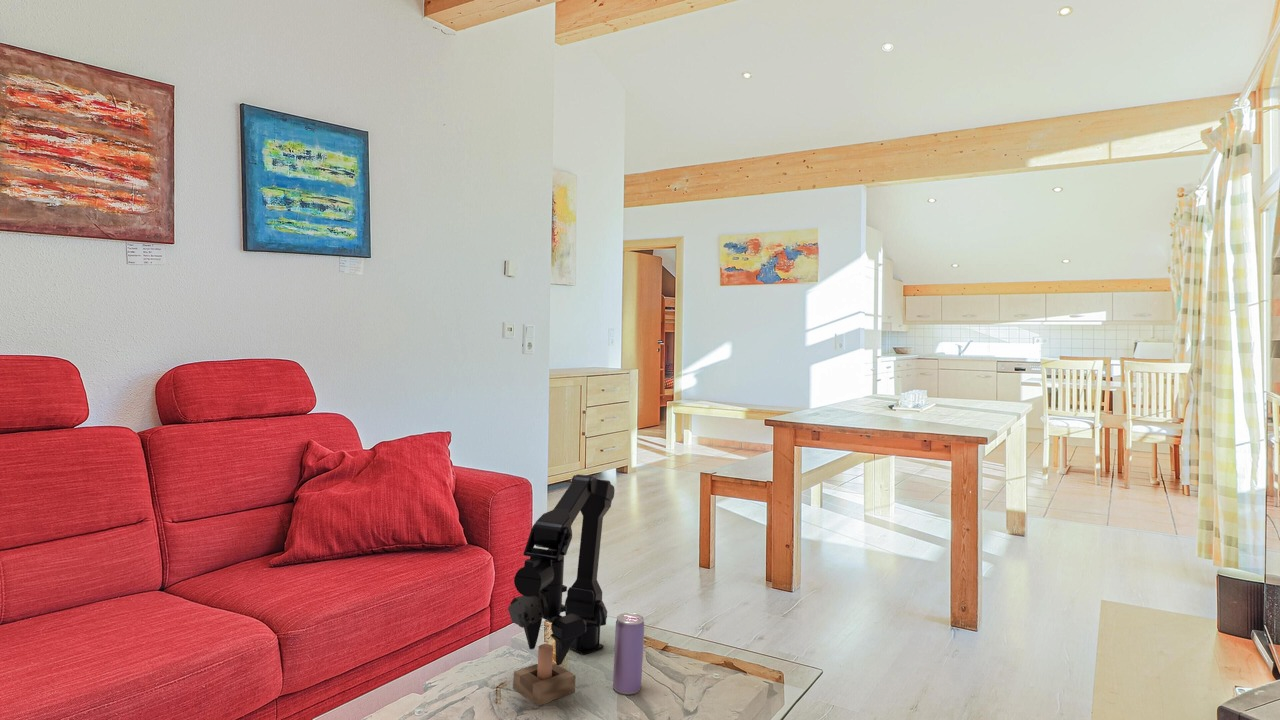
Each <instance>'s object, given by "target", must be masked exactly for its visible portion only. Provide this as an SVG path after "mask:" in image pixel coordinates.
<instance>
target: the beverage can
mask: <svg viewBox="0 0 1280 720" xmlns="http://www.w3.org/2000/svg"><path fill="white" fill-rule="evenodd" d="M644 619H645V618H644V616H643V615H641V614H639V613H636V612H635V613H634V612H623V613H621V614H618V615H617V616H616V621H615V631H614V632H615V635H614V651H613V652H614V653H613V654H614V655H613V674H612V687H613V689H614V691H615V692H617V693H619V694H621V695H625V696H627V695H629V696H630V695H634V694H637V693H638V692H639V691H640V689H642V678H643V660H644V641H645V639H644V638H645V620H644Z"/></svg>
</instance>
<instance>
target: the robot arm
mask: <svg viewBox="0 0 1280 720" xmlns="http://www.w3.org/2000/svg"><path fill="white" fill-rule="evenodd" d="M614 496H615V486H614V485H613V484H612V483H611V481H610V480H607V479H598V478H597V477H594V476H593V475H587V474H574V475H573V476H572V477H571V481H570V484H569V486H568V488H567V489H566V491H565V492H564V493H563V494H562V496H561V498H560V499H559V501H558V502H557V504H556V505H555V507H554V508H553V509H552V510H550V511H547V512H544V513H543V514H541V515H540V517H538V519H537V520H536V521H535V523H534V524H533V525H532V527H531V530H530V533H529V535H528V539H527V542H526V545H525V548H524V551H523V556H524V557H529V558H527V559H525V560H524V566H522V567H521V568H519V569H518V570H517V572H515V575H514V577H513V581H514V582H513V584H514V587H515V589H516V591H517V592H518V593H519V594H521V595H519V596H516V597H514V598H513V599H512V600H511V602H510V604H509V605H508V607H507V610H508V613H509V617H510V620H511V622H512V623H513V624H515V625H517V626H518V627H519V628H522V629H523V630H524V633H525V634H524V635H525V638H526V641H527V644H528V648H529V650H534V649H535V647H536V646H537V642H538V637H539V634H540V630H541V626H542V622H543V620H545V621H547V622H550V623H551V626H550V630H551V634H550V637H551V638H552V639H553V640H554V642H555V643H554V644H555V645H554V646H555V649H554V650H555V664H557V665H559V666H561V665H563V661H564V660H565V658H566V656H567V654H568V652H569V651H570V649H571V650H573V651H576V652H577V653H579V654H580V655H583V656H584V655H587V654H590V653H593V652H595V651H599V650H602V649H604V648H605V647H604V644H602V643H600V639H601V637H600V636H601V635H600V634H601V627H602V626H606V625H607V619H608V610H607V608H606V605H605V603H604V602H603V590H602V588H601V586H600V584H599V582H598V570H599V561H600V552H601V539H602V531H603V521H604V518H605V517H604V516H605V515H606V514H607V513H608V511H609V510H610V509H611V507H612V501H613V499H614ZM579 513H581V515H582V523H581V533H580V541H579V542H580V545H579V552H578V563H577V572H576V573H577V574H576V579H575V581H574V583H573V584H572V585H571V586H570V587H569V588H568V586H567V585H564V567H565V556H566V555H567V553H568V549H569V547H570V544H571V541H572V539H573V531H572V526H573V523H574V521H575V520H576V518H577V517H578V515H579ZM537 547H538V548H537ZM566 592H567V593H566ZM563 593H566V594H567V596H566V598H565V602H564V605H563ZM561 613H565V615H564V616H563V615H561Z"/></svg>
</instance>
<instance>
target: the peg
mask: <svg viewBox="0 0 1280 720" xmlns="http://www.w3.org/2000/svg"><path fill="white" fill-rule="evenodd" d="M537 651H538V653H537V664H538V668H537V678H539V679H541V680H542V681H543V680H545V679H548V678H551V677H552V662H554V660H553V659H554V658H553V657H554V656H553V655H554V646H553V645H552V644H549V643H542V644H540V645H538V649H537Z"/></svg>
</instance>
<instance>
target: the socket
mask: <svg viewBox="0 0 1280 720" xmlns="http://www.w3.org/2000/svg"><path fill="white" fill-rule="evenodd" d="M537 668H538V663H535V664H532V665H530V666H527V667H523V668H520V669H518V670H517V669H516V670H514V671H513V682H512V683H513V684H512V686H513V687H512V689H513V690H515V691H516V692H518V693H520V694H521V695H523V696H524V697H526V698H527V699H528V700H530V701H531V702H533V703H535V704H536V705H537V706H541V705H545V704H547V703H550V702H552V701H555V700H557V699H560V698H563V697H566V696H568V695H571V694H573V693H575V691H576V674H575V673H573V672H571V671H569V670H567V669H566V668H564V667H562V666H561V665H557V664H556V662H554V661H553V662H552V677H551V678H548V679H545V680H543V681H542V680H541V679H539V678H537Z"/></svg>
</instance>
